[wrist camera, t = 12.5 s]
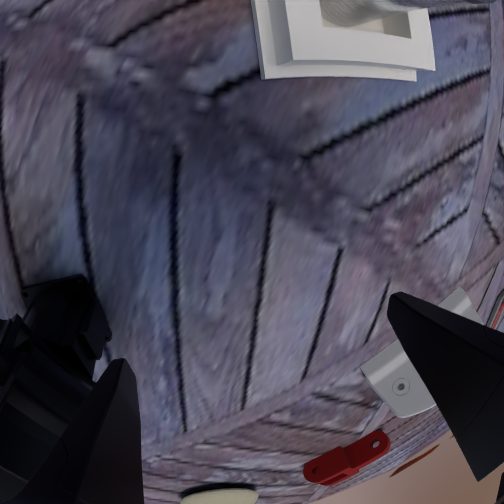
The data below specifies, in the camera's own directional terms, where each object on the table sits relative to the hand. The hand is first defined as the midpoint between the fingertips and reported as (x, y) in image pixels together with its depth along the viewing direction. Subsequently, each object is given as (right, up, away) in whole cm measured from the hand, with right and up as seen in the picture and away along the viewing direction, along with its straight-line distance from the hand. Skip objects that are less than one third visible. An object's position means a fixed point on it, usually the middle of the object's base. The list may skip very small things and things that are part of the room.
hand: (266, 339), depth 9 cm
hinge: (+21, -9, +25) cm, 34 cm away
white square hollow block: (+5, +20, +6) cm, 22 cm away
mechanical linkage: (+17, -33, +37) cm, 52 cm away
